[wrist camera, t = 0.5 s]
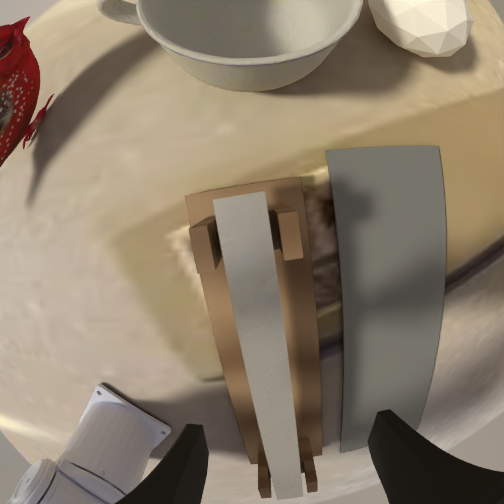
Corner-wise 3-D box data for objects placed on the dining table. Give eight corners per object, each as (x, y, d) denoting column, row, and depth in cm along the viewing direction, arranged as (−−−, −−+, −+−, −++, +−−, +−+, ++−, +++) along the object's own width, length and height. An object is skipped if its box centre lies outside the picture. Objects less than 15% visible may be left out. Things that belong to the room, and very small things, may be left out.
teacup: (343, 16, 15) (379, -46, 7) (302, 134, 17) (336, 96, 9) (173, -21, 14) (146, -81, 6) (112, 84, 16) (49, 44, 8)
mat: (416, 427, 23) (417, 429, 22) (339, 451, 23) (340, 453, 23) (436, 146, 17) (438, 145, 16) (325, 151, 17) (326, 150, 17)
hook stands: (320, 447, 23) (331, 495, 17) (251, 457, 23) (250, 505, 17) (297, 177, 17) (320, 171, 11) (188, 195, 18) (155, 199, 12)
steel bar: (300, 478, 19) (303, 496, 17) (276, 481, 19) (277, 499, 17) (263, 190, 14) (264, 191, 12) (218, 198, 14) (212, 200, 12)
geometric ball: (381, 24, 17) (417, -36, 9) (450, 81, 15) (498, 21, 8) (328, 11, 14) (369, -69, 6) (417, 79, 12) (481, -8, 5)
